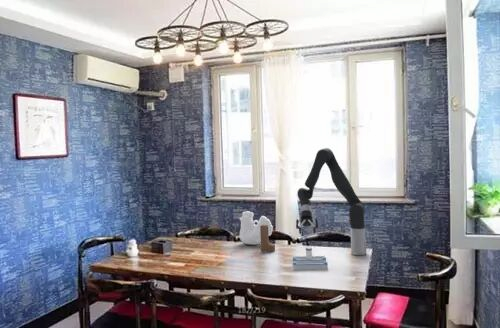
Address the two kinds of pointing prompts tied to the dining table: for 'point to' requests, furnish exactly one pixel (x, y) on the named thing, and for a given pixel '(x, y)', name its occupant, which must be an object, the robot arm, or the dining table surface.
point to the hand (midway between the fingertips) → (307, 233)
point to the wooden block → (266, 240)
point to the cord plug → (308, 253)
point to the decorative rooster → (252, 228)
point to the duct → (309, 262)
